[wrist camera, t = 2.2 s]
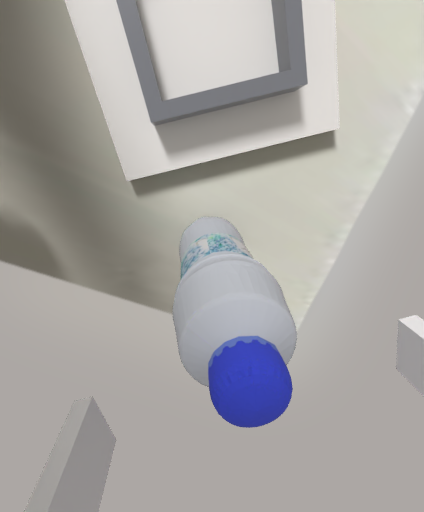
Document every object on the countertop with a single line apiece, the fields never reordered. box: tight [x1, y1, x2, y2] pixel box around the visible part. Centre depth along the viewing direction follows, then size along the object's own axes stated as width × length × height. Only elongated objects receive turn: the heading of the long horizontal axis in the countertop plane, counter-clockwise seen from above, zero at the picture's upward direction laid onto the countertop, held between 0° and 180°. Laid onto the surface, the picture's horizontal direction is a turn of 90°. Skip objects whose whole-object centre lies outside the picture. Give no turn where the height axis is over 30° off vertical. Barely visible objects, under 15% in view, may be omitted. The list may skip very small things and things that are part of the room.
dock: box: [64, 0, 340, 181], centre depth 20 cm, size 20×20×4 cm
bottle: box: [173, 217, 297, 427], centre depth 19 cm, size 7×7×20 cm
